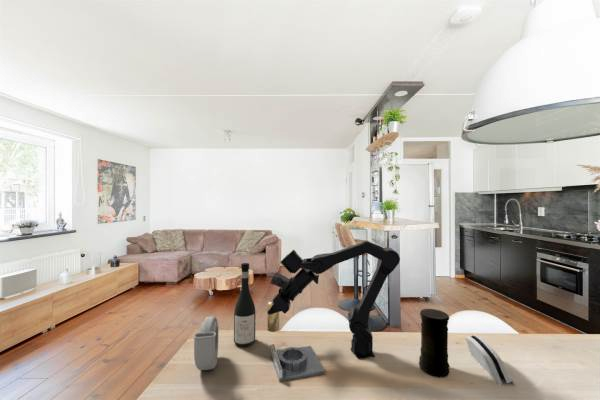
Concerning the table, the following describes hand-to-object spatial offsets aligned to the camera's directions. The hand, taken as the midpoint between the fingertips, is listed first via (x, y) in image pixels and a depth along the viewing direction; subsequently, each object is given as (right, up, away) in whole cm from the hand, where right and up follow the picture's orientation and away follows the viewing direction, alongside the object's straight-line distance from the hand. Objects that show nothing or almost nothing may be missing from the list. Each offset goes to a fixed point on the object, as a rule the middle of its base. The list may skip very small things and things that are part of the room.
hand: (269, 311), depth 101 cm
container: (+54, -14, -13) cm, 58 cm away
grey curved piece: (+72, -14, -12) cm, 74 cm away
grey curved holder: (-19, -13, -12) cm, 26 cm away
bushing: (+1, -7, 0) cm, 7 cm away
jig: (+10, -13, -10) cm, 20 cm away
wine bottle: (-10, -13, +3) cm, 17 cm away
